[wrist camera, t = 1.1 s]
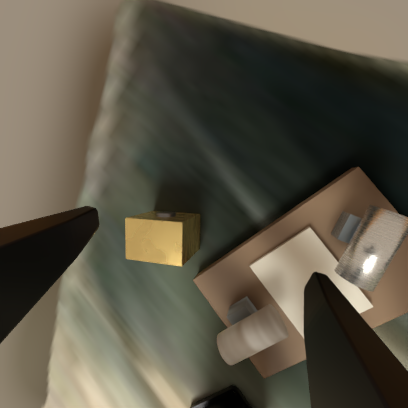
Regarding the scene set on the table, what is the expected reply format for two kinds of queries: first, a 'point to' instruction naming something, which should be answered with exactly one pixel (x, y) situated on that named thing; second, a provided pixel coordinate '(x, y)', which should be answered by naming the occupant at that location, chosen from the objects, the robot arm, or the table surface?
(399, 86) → the table surface
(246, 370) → the table surface
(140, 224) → the yellow knobbed block
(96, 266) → the table surface
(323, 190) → the base plate
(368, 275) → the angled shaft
